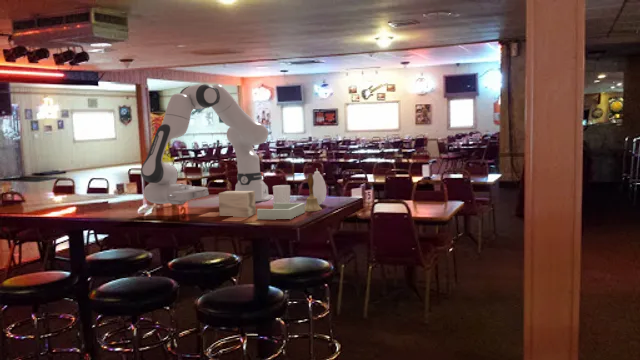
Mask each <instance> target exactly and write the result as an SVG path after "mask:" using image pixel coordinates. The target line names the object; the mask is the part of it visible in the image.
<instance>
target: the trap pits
mask: <svg viewBox="0 0 640 360" xmlns="http://www.w3.org/2000/svg"><path fill="white" fill-rule="evenodd" d="M199 217H200V218H204V217H206V218H207V217H209V218H210V217H212V218H216V217H220V211H217V212H215V211H214V212H213V211H212V212H211V211H209V212H207V213H204V214H201V215H198V218H199ZM249 217H250V216H249ZM249 217H228V218H225V219H222V220H221V222H242V221H245V220H247V219H249Z"/></svg>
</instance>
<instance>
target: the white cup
mask: <svg viewBox="0 0 640 360" xmlns="http://www.w3.org/2000/svg"><path fill="white" fill-rule="evenodd" d="M272 192H273V194H272V195H273V203H291V185H290V184H280V185H279V184H278V185H273V186H272Z"/></svg>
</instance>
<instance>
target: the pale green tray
mask: <svg viewBox="0 0 640 360" xmlns="http://www.w3.org/2000/svg"><path fill="white" fill-rule="evenodd" d="M272 206H273V207H272V208H270V209H269V208H256V215H257V217H256V219H257V220H276V219H290V220H292V219H294V217H295V218H296V216H297V217H299V216H302V214H305V213H306V211H305V206H306V203H305V202H290V203H274V202H273V203H272Z"/></svg>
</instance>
